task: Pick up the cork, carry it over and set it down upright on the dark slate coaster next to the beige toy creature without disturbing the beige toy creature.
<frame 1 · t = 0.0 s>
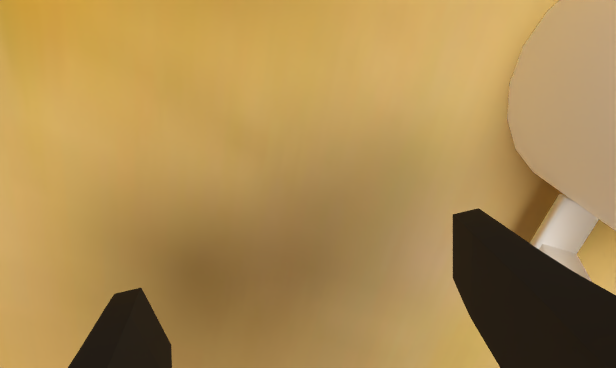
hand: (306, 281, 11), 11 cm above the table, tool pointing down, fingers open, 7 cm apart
mug: (596, 106, 23), on the table
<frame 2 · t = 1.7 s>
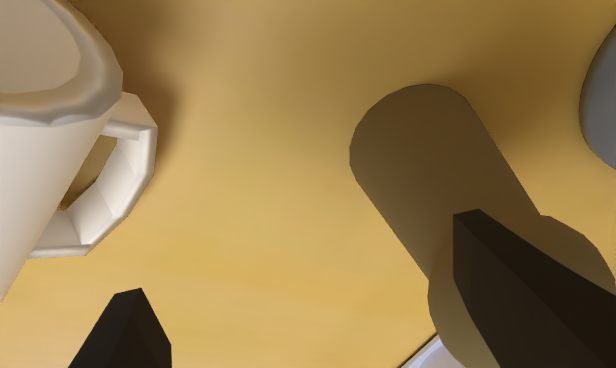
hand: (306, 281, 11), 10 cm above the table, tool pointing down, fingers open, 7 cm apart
cork: (412, 145, 23), on the table
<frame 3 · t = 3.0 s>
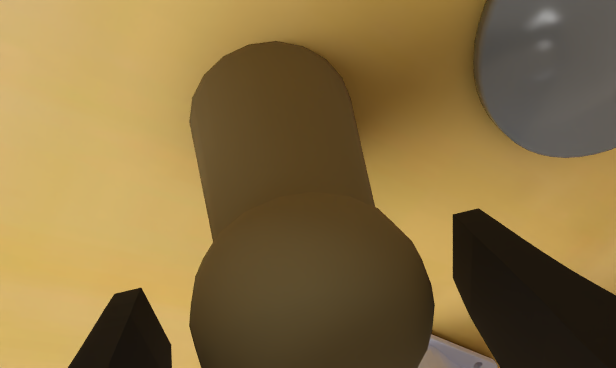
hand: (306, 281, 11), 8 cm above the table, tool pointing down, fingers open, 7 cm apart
cork: (272, 119, 19), on the table
slate coaster: (602, 30, 18), on the table
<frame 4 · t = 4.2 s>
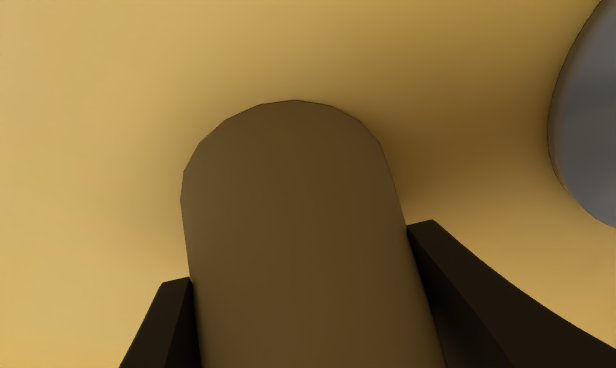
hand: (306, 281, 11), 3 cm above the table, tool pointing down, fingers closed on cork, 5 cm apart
cork: (287, 193, 14), on the table, touching gripper
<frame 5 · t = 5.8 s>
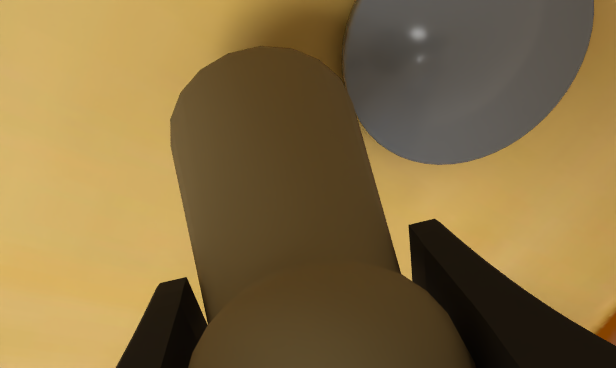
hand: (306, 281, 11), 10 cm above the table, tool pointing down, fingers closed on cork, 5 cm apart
cork: (264, 132, 16), point 4 cm above the table, touching gripper
slate coaster: (462, 48, 20), on the table
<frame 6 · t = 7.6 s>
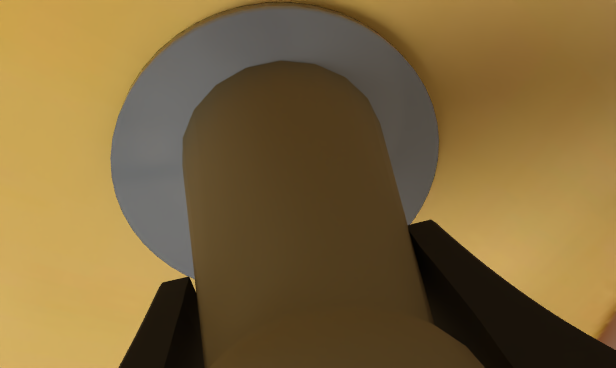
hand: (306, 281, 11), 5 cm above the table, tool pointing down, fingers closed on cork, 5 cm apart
cork: (284, 154, 15), point 1 cm above the table, touching gripper, slate coaster
slate coaster: (279, 163, 16), on the table
when the fingers open (5 cm above the table, at t = 7.7 s): cork stays where it is, resting on slate coaster.
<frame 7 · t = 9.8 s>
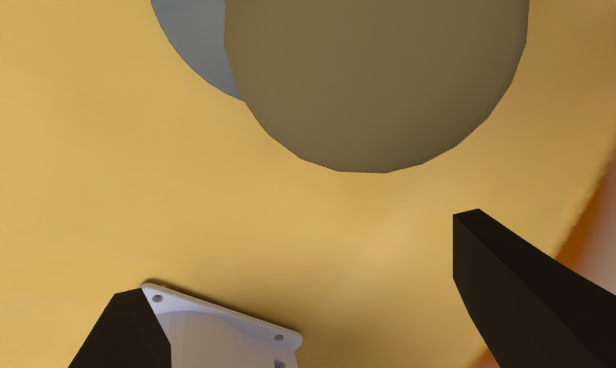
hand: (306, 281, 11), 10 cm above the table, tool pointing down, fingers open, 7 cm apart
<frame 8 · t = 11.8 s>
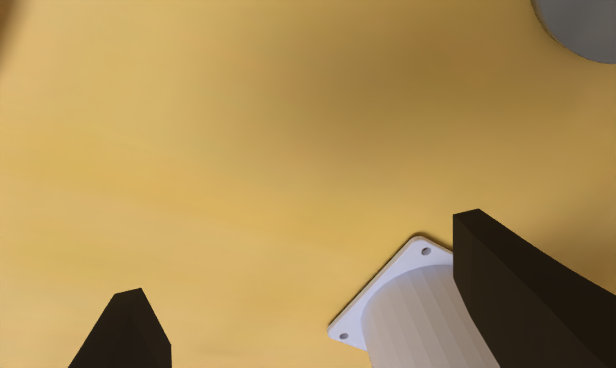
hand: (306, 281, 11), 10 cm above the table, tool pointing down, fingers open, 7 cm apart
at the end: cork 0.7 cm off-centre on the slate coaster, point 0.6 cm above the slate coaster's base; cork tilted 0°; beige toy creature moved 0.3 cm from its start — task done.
